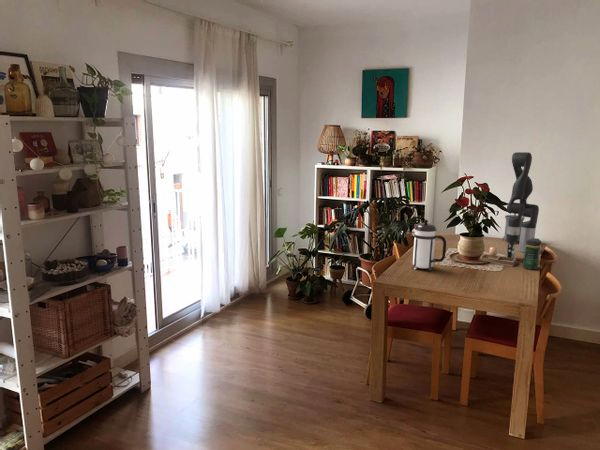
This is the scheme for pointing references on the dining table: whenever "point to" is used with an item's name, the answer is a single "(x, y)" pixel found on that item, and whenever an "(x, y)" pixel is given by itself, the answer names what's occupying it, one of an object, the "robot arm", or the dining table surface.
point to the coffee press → (426, 246)
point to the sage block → (512, 254)
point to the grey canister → (507, 224)
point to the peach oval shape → (493, 251)
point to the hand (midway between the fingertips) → (510, 257)
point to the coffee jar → (531, 253)
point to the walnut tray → (498, 259)
